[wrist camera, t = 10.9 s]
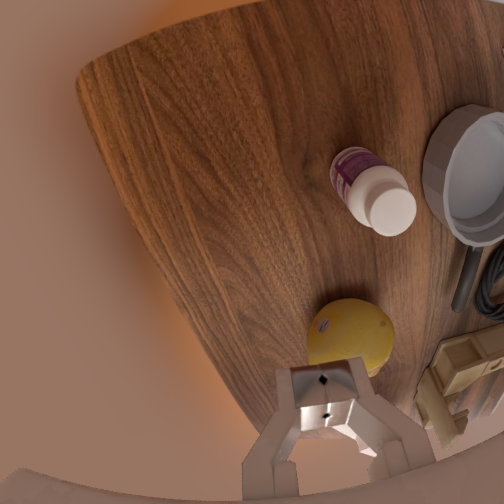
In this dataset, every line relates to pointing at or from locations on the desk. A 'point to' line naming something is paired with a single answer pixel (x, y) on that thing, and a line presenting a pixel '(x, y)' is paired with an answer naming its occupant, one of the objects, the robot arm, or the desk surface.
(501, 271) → the cable
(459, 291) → the pan handle
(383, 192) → the pill bottle
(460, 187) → the pan
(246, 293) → the desk surface
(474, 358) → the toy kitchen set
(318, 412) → the robot arm
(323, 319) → the fruit
